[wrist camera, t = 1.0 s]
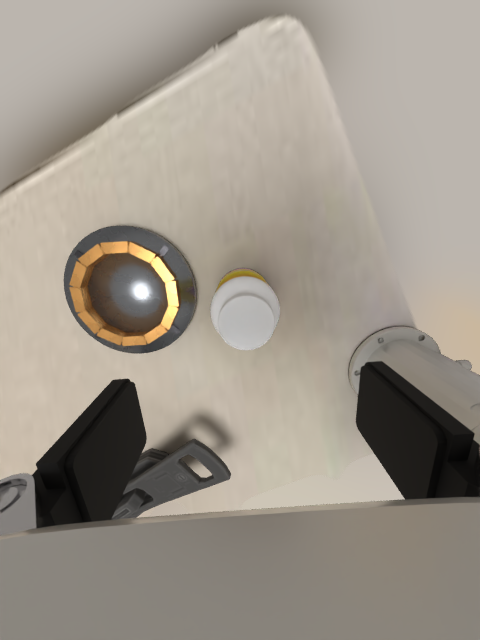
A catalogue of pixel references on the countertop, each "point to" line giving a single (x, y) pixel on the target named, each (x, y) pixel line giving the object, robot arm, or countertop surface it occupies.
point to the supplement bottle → (244, 309)
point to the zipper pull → (168, 478)
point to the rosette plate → (130, 289)
